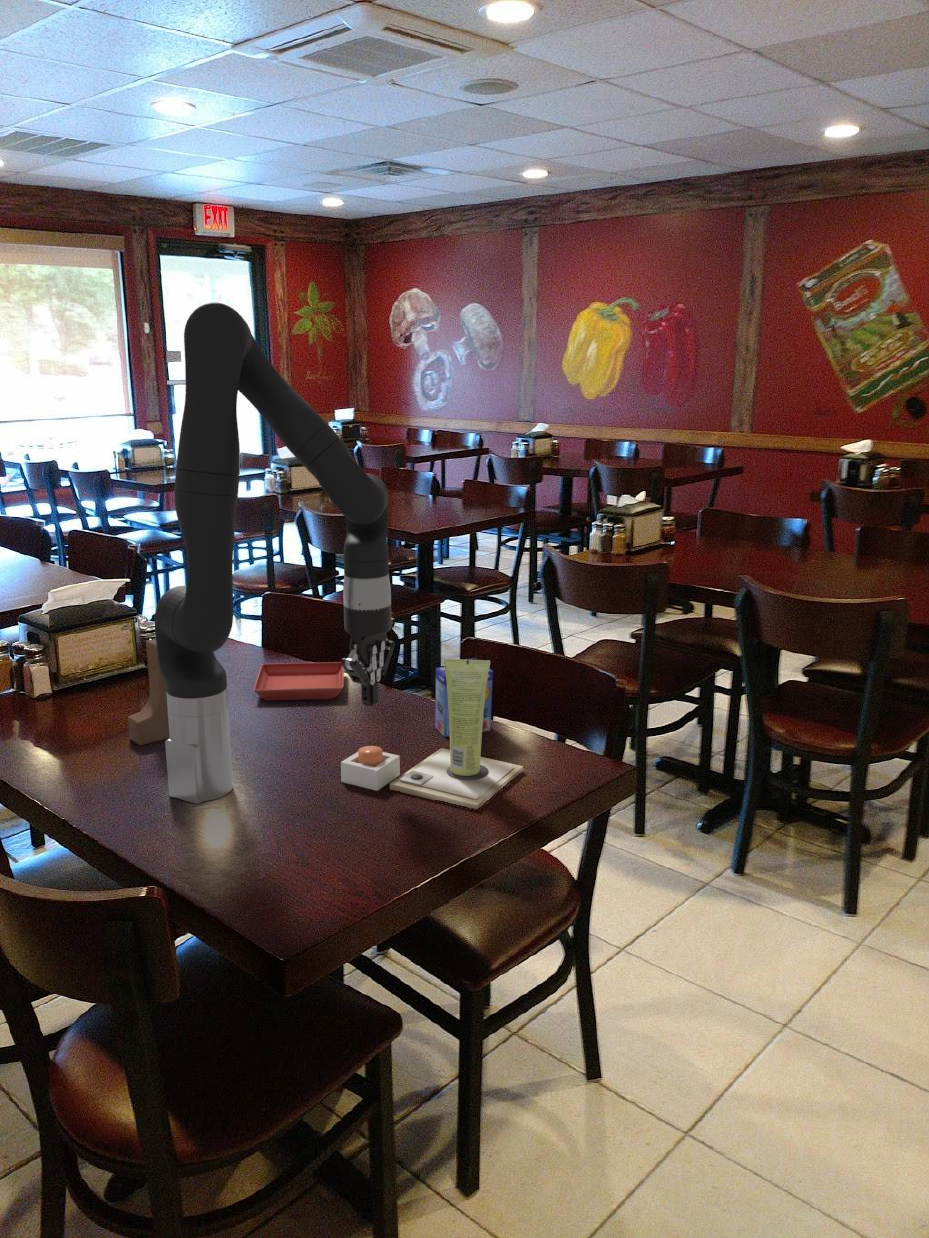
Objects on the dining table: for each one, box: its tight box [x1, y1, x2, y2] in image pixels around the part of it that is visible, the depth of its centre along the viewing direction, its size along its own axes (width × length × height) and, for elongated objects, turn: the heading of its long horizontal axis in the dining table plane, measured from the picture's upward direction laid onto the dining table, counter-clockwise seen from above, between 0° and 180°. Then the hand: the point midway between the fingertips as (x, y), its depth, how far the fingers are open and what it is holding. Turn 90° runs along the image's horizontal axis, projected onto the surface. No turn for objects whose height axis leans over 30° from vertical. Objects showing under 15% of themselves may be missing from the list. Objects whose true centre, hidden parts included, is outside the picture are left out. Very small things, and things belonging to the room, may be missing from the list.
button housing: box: [340, 751, 401, 791], centre depth 161 cm, size 7×7×4 cm
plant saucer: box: [253, 661, 345, 701], centre depth 205 cm, size 18×18×3 cm
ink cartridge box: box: [434, 657, 494, 738], centre depth 182 cm, size 10×6×14 cm, turn 113°
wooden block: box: [127, 638, 170, 746], centre depth 176 cm, size 9×4×18 cm, turn 132°
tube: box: [443, 658, 491, 776], centre depth 159 cm, size 6×5×20 cm
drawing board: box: [389, 747, 524, 809], centre depth 161 cm, size 17×16×2 cm
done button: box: [357, 745, 384, 767], centre depth 161 cm, size 4×4×4 cm
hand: (370, 703), depth 159 cm, fingers closed
